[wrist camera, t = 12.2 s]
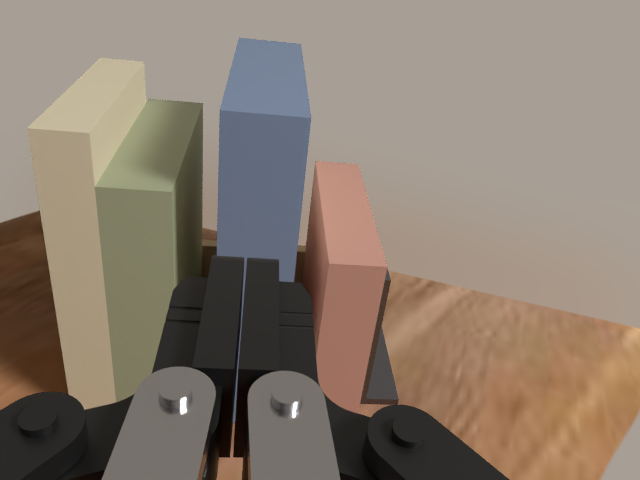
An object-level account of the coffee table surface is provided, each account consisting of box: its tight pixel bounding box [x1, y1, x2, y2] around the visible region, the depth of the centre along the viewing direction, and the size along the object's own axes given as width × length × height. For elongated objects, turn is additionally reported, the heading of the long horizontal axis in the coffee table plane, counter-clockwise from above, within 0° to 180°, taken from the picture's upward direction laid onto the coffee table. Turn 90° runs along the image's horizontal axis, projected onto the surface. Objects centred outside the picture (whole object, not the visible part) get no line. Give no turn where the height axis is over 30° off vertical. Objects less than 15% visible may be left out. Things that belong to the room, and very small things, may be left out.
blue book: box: [217, 38, 311, 422], centre depth 41 cm, size 5×16×22 cm, turn 3°
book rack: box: [27, 58, 387, 413], centre depth 42 cm, size 21×16×20 cm
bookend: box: [360, 269, 399, 404], centre depth 45 cm, size 3×12×11 cm, turn 3°
